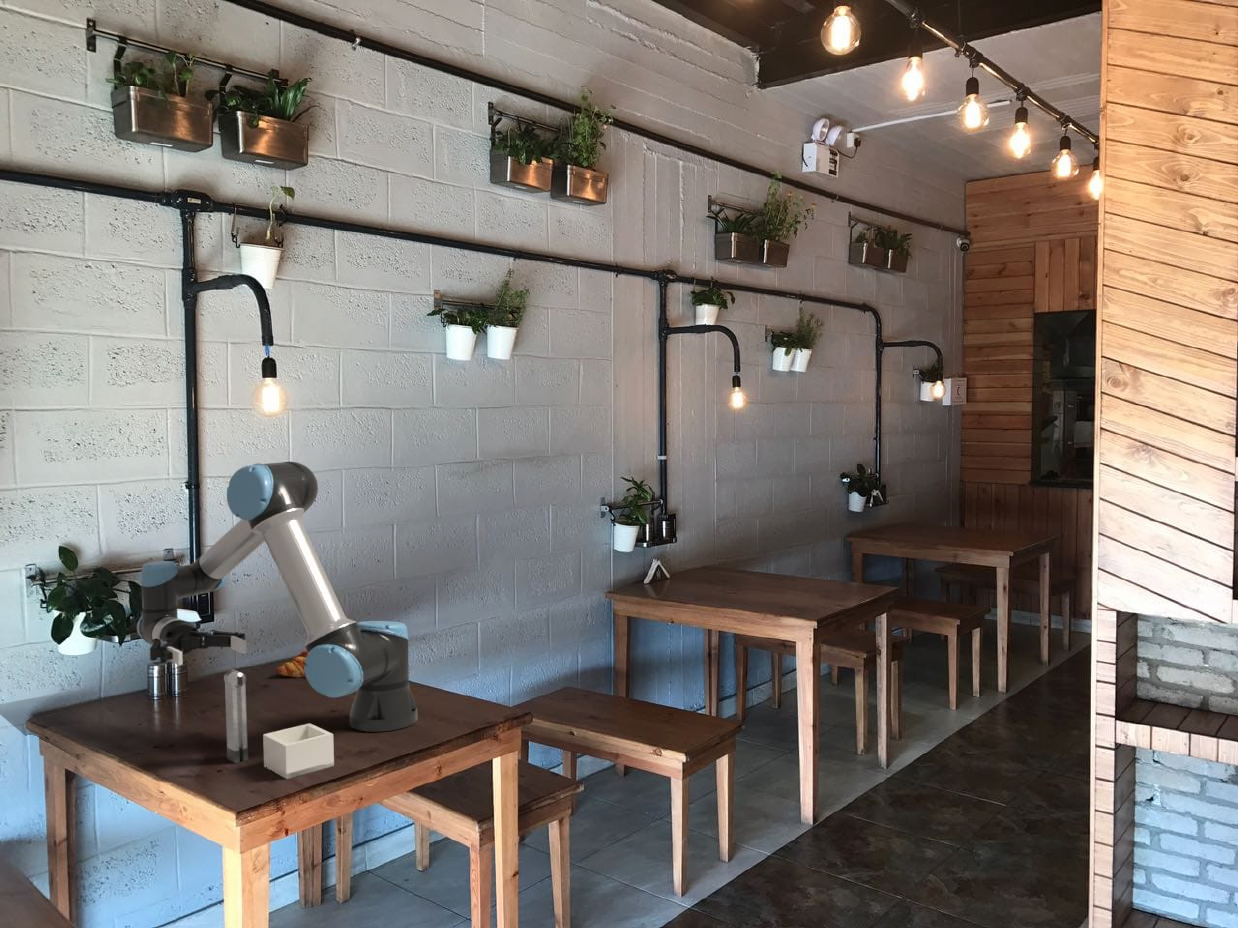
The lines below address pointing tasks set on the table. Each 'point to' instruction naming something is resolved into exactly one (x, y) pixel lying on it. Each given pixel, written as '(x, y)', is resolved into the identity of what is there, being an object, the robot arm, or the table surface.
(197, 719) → the table surface
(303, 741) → the caddy
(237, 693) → the tongs
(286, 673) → the croissant
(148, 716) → the table surface
